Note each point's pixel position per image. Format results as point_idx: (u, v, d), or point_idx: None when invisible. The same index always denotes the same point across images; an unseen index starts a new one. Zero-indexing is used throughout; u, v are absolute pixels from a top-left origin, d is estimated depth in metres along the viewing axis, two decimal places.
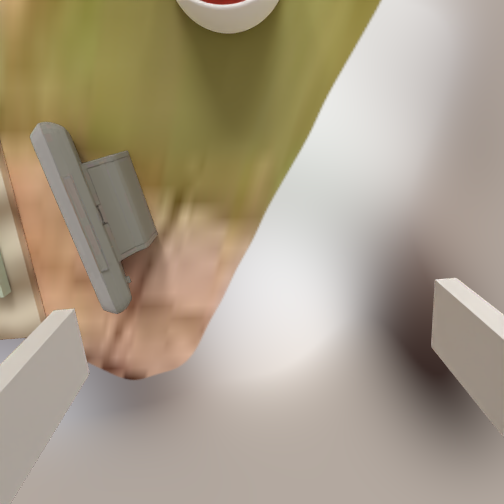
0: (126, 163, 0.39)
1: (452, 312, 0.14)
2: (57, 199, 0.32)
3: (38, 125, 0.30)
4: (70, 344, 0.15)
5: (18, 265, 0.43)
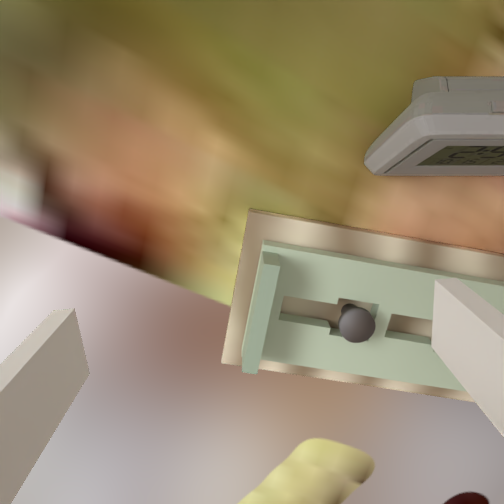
0: None
1: (452, 312, 0.14)
2: None
3: (415, 118, 0.23)
4: (70, 344, 0.15)
5: (494, 263, 0.35)
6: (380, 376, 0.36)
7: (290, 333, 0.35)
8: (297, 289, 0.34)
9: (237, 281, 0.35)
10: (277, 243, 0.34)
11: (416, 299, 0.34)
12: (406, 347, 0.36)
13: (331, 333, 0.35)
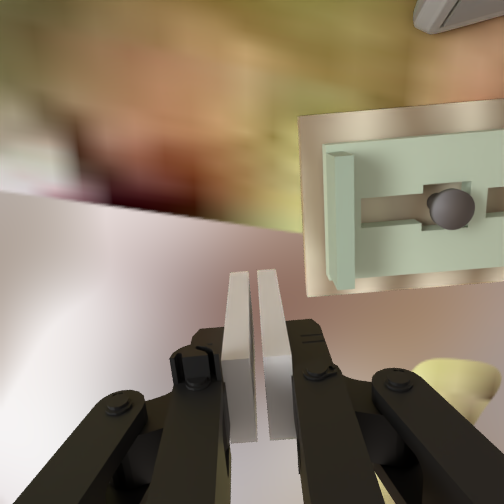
0: None
1: None
2: None
3: None
4: (250, 301, 0.17)
5: None
6: (490, 265, 0.32)
7: (377, 240, 0.31)
8: (374, 187, 0.30)
9: (304, 200, 0.32)
10: (339, 142, 0.30)
11: None
12: None
13: (423, 229, 0.31)
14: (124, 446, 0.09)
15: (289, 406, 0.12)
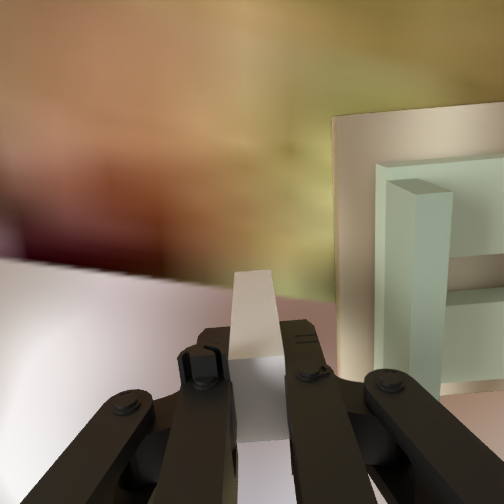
0: None
1: None
2: None
3: None
4: None
5: None
6: None
7: (467, 326, 0.18)
8: (467, 239, 0.17)
9: (342, 255, 0.19)
10: (406, 162, 0.17)
11: None
12: None
13: None
14: (132, 445, 0.09)
15: (282, 407, 0.12)
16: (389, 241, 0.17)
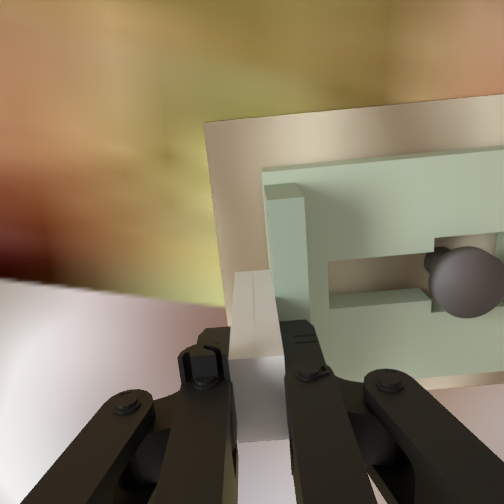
0: None
1: None
2: None
3: None
4: None
5: None
6: None
7: (358, 328, 0.19)
8: (350, 243, 0.17)
9: (222, 260, 0.19)
10: (289, 166, 0.17)
11: None
12: None
13: (434, 309, 0.19)
14: (132, 446, 0.09)
15: (282, 407, 0.12)
16: (268, 245, 0.17)
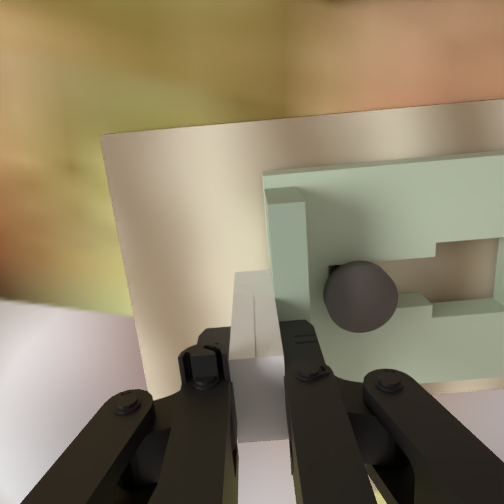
0: None
1: None
2: None
3: None
4: None
5: None
6: None
7: (358, 333, 0.18)
8: (351, 247, 0.17)
9: (127, 271, 0.19)
10: (290, 170, 0.17)
11: None
12: None
13: (435, 314, 0.19)
14: (132, 446, 0.09)
15: (282, 407, 0.12)
16: None
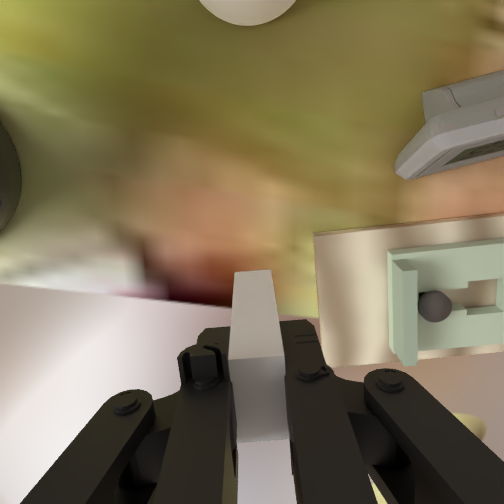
0: (444, 86, 0.34)
1: None
2: None
3: (433, 138, 0.28)
4: None
5: None
6: None
7: (432, 323, 0.40)
8: (429, 284, 0.38)
9: (319, 296, 0.41)
10: (400, 250, 0.39)
11: None
12: None
13: (468, 313, 0.40)
14: (132, 445, 0.09)
15: (282, 407, 0.12)
16: (394, 286, 0.38)
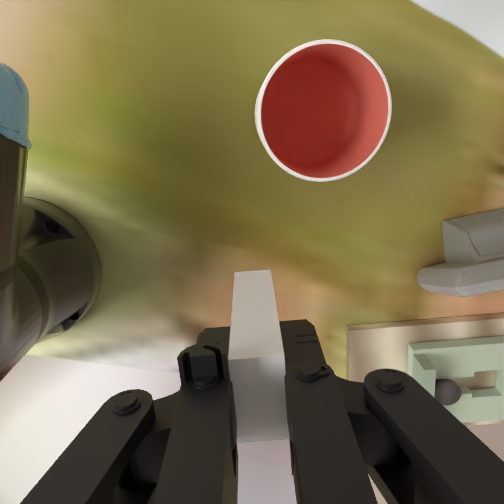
0: (461, 222, 0.42)
1: None
2: None
3: (457, 288, 0.35)
4: None
5: None
6: None
7: None
8: (442, 373, 0.46)
9: (350, 377, 0.48)
10: (420, 344, 0.46)
11: None
12: None
13: (472, 395, 0.48)
14: (132, 445, 0.09)
15: (282, 407, 0.12)
16: (414, 375, 0.46)
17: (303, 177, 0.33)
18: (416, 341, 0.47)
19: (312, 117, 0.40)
